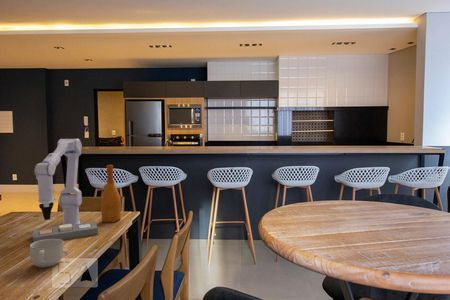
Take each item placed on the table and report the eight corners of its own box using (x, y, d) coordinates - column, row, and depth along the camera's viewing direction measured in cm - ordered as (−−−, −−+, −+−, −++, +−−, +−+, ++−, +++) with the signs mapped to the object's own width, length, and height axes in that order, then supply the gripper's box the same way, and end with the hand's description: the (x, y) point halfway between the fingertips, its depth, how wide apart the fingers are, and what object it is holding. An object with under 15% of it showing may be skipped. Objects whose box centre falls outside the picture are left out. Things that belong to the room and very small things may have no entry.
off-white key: (59, 229, 148) (59, 225, 148) (71, 227, 151) (71, 223, 151) (60, 232, 144) (60, 228, 144) (72, 230, 147) (72, 226, 147)
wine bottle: (116, 216, 178) (114, 163, 176) (124, 220, 171) (122, 164, 169) (98, 220, 172) (96, 164, 169) (106, 224, 164) (104, 166, 162)
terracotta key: (39, 235, 144) (39, 231, 144) (52, 233, 147) (52, 229, 147) (39, 238, 140) (39, 234, 140) (52, 236, 143) (52, 232, 143)
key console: (33, 236, 146) (33, 230, 146) (94, 227, 159) (93, 221, 159) (33, 244, 136) (32, 237, 136) (98, 234, 149) (97, 227, 149)
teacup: (39, 258, 121) (38, 238, 121) (69, 257, 122) (68, 237, 122) (19, 275, 107) (18, 252, 107) (53, 274, 108) (52, 251, 108)
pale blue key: (78, 229, 153) (78, 225, 152) (89, 227, 155) (89, 223, 155) (79, 232, 148) (79, 228, 148) (91, 230, 151) (91, 226, 151)
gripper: (56, 191, 138) (57, 222, 139) (55, 186, 151) (56, 214, 152) (37, 193, 135) (39, 224, 136) (38, 187, 148) (39, 216, 149)
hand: (47, 219), depth 144 cm, fingers closed
